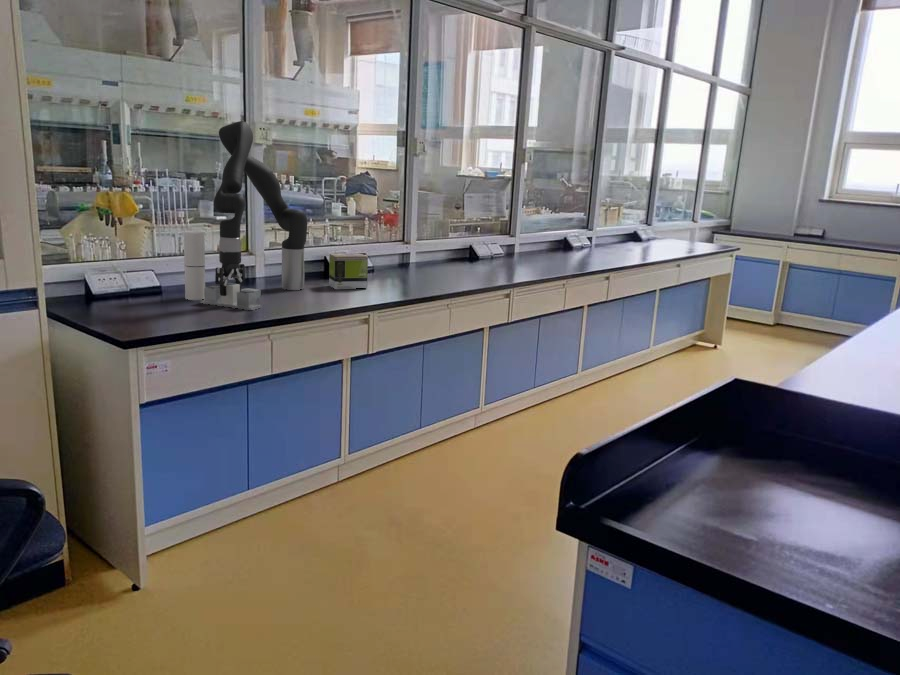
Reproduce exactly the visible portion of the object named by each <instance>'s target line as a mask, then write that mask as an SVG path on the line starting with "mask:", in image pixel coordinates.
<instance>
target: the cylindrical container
mask: <svg viewBox="0 0 900 675" xmlns="http://www.w3.org/2000/svg"><path fill="white" fill-rule="evenodd" d="M205 252H206V251H205V232H204V231H198V230H196V231H195V230H186V231H183V255H184V259H183V260H184V261H183V262H184V294H185V296H184V298H185V300H187V299H188V301H201V300H202V299H204V300H205V297H204V287H206V262H205V261H206V260H205V259H206V256H205Z"/></svg>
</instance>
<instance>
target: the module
mask: <svg viewBox="0 0 900 675" xmlns="http://www.w3.org/2000/svg"><path fill="white" fill-rule="evenodd" d="M226 289H227V295H226V296H221V300H222V303H224V304H231V305H234V304H237V292H239V291H240V284H236V283H235V282H227V284H226Z"/></svg>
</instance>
